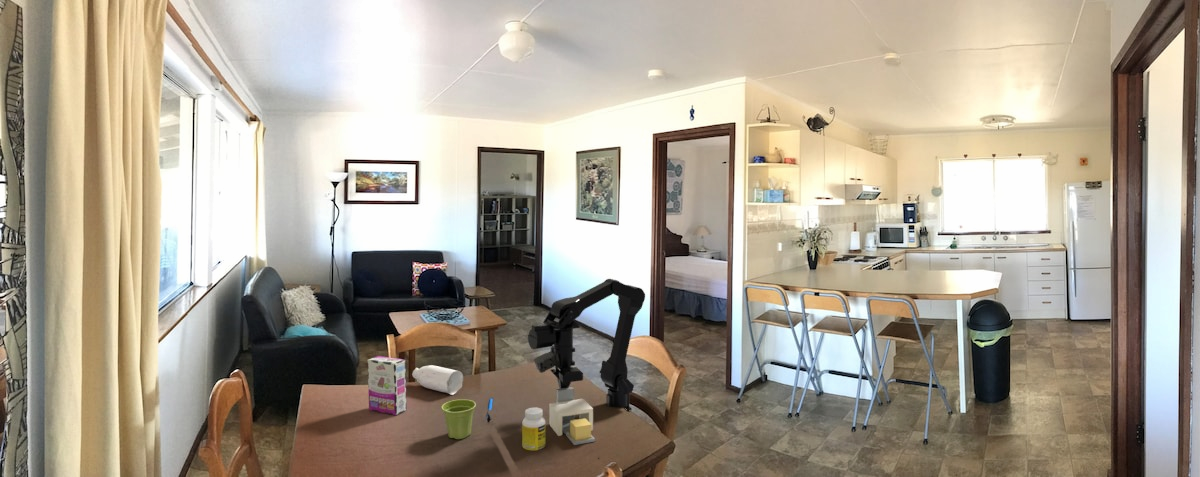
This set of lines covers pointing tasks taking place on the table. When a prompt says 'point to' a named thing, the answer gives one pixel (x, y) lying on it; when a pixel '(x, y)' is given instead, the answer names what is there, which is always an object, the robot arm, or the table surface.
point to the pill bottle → (533, 429)
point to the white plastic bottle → (439, 378)
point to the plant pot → (459, 417)
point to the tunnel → (569, 413)
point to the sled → (568, 395)
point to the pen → (489, 408)
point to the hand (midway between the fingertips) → (562, 394)
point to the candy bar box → (387, 385)
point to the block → (580, 429)
